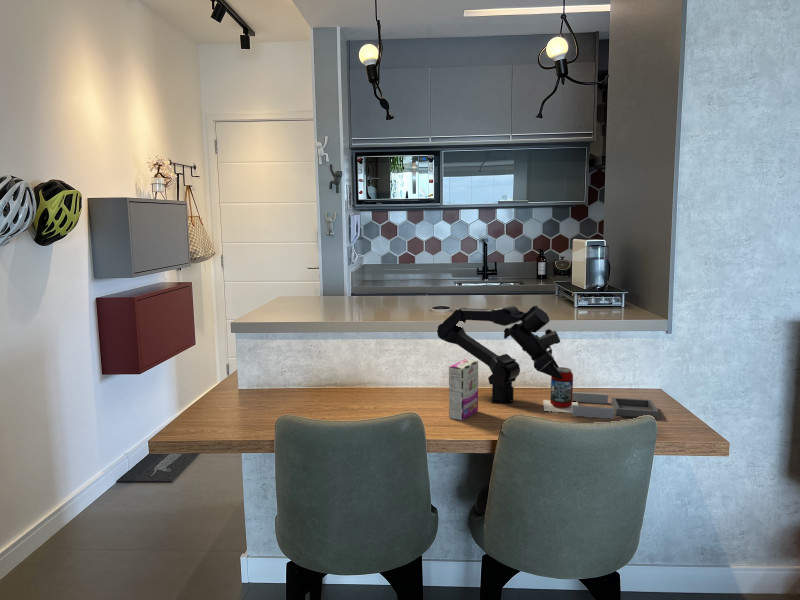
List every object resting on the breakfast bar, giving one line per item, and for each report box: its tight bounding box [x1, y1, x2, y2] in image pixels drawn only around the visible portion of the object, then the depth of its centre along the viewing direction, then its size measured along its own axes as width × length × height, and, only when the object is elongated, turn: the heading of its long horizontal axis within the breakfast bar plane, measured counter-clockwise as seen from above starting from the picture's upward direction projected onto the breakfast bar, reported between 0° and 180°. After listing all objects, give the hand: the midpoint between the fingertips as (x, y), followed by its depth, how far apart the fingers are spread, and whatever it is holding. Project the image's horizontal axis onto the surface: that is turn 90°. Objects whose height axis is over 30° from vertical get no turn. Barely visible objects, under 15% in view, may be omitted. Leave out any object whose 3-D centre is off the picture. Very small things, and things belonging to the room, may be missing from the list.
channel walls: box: [572, 391, 615, 420], centre depth 193 cm, size 12×16×3 cm
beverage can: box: [549, 366, 574, 408], centre depth 195 cm, size 7×7×12 cm
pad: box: [542, 399, 580, 414], centre depth 195 cm, size 11×11×1 cm
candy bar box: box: [448, 358, 479, 422], centre depth 187 cm, size 11×5×16 cm, turn 148°
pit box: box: [610, 397, 659, 420], centre depth 191 cm, size 12×12×2 cm
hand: (560, 374), depth 194 cm, fingers open, 9 cm apart
